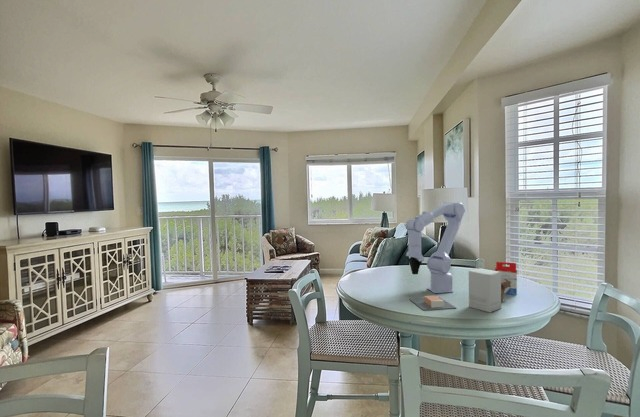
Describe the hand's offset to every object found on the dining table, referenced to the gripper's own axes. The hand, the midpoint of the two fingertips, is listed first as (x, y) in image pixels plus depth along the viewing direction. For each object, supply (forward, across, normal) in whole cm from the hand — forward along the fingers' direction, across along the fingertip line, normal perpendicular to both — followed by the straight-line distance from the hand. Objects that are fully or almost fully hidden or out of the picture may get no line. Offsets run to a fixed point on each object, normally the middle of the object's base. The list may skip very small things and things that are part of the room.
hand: (414, 274), depth 146 cm
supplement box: (+10, +20, +21) cm, 31 cm away
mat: (+10, +12, +2) cm, 16 cm away
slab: (+8, +11, +2) cm, 14 cm away
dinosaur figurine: (+10, +13, +31) cm, 35 cm away
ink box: (+10, +3, +43) cm, 44 cm away
